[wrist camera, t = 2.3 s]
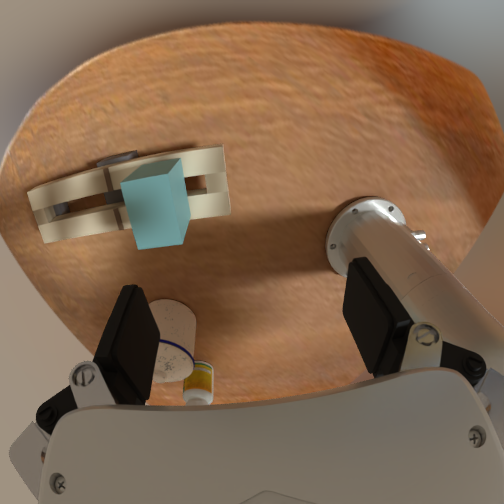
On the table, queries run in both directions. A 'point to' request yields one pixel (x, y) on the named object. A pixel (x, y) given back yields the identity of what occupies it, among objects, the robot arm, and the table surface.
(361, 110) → the table surface
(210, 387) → the supplement bottle
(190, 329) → the teacup with lid
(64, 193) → the beam
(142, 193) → the block
